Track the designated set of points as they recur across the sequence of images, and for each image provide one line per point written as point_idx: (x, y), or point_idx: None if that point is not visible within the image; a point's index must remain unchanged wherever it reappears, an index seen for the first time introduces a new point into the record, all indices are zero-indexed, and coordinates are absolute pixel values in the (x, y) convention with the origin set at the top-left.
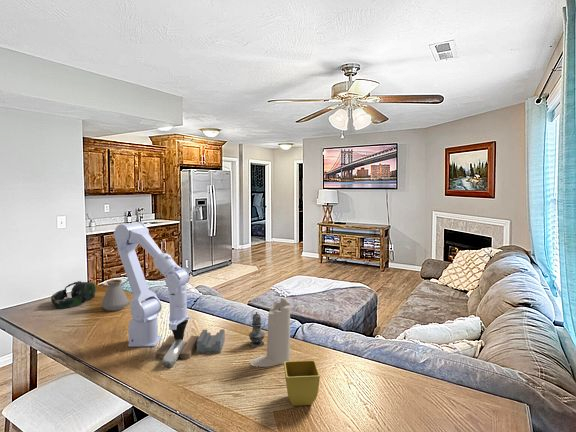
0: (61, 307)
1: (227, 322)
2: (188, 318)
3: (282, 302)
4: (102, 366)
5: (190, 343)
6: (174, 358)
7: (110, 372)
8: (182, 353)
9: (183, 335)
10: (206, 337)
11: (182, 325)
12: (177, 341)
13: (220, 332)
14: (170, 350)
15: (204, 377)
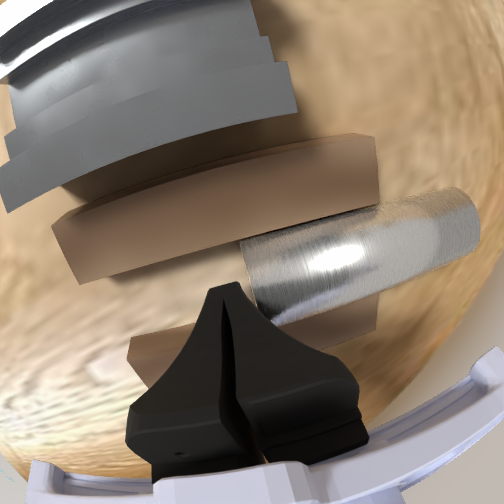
0: None
1: None
2: (305, 477)
3: None
4: (390, 399)
5: (200, 213)
6: (468, 196)
7: (426, 363)
8: (378, 188)
9: (214, 311)
10: (97, 101)
11: (351, 393)
12: (312, 298)
13: (29, 5)
14: (441, 258)
15: (471, 27)
